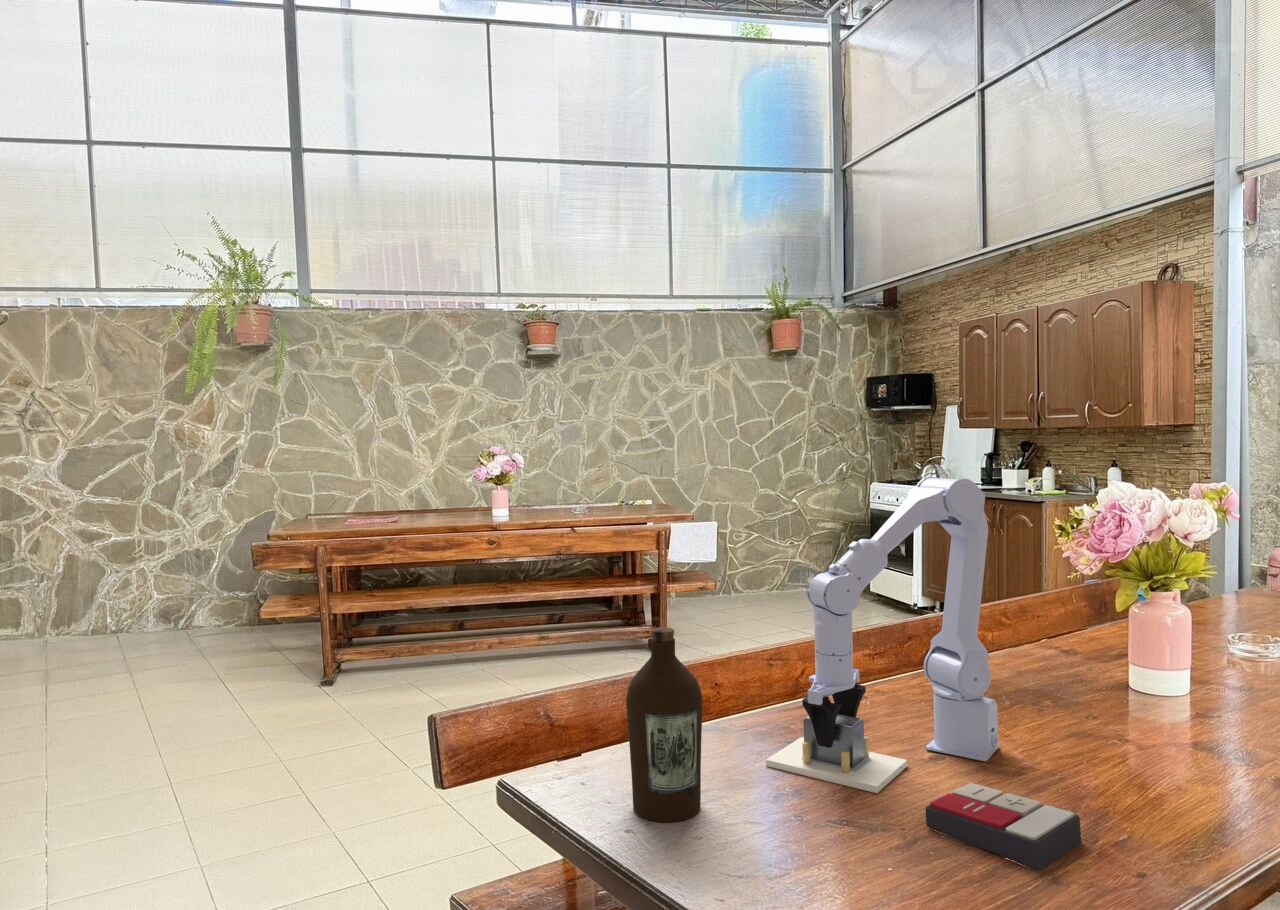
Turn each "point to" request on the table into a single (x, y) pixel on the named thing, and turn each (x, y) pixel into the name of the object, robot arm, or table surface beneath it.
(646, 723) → the olive oil
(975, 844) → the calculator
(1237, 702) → the table surface
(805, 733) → the block
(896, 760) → the cream pegged board
